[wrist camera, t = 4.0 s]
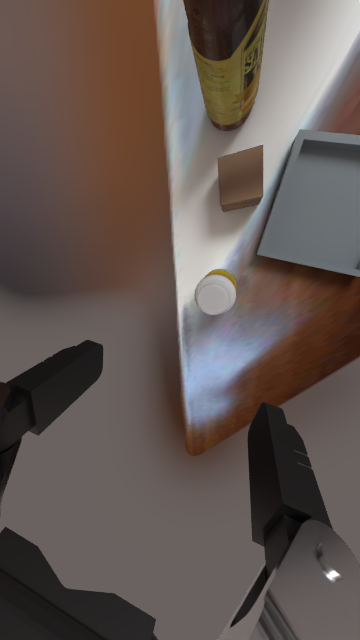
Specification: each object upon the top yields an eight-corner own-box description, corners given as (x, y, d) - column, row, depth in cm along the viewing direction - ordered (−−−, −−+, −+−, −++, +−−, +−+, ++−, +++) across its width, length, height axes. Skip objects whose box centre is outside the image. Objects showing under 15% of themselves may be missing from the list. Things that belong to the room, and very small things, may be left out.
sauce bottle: (252, 130, 25) (290, -170, 7) (204, 136, 26) (134, -96, 8) (261, 58, 22) (356, -699, 4) (208, 69, 24) (119, -458, 6)
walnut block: (220, 172, 27) (217, 158, 23) (258, 162, 26) (262, 144, 21) (223, 211, 29) (220, 205, 24) (258, 204, 27) (263, 196, 23)
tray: (295, 138, 24) (299, 129, 22) (426, 152, 21) (444, 143, 19) (255, 254, 29) (256, 254, 28) (355, 275, 27) (364, 277, 25)
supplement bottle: (208, 264, 32) (196, 272, 23) (241, 272, 31) (242, 283, 22) (200, 296, 34) (186, 314, 25) (230, 304, 33) (228, 326, 24)
